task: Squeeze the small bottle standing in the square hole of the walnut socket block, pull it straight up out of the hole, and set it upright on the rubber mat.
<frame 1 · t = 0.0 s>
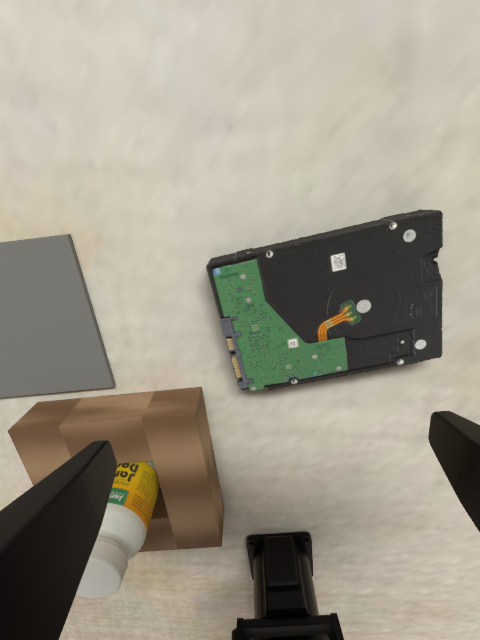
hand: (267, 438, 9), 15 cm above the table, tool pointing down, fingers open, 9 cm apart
socket block: (137, 459, 28), on the table
disk drive: (320, 301, 23), on the table
rubber mat: (18, 324, 23), on the table
supplement bottle: (138, 457, 28), resting in socket block
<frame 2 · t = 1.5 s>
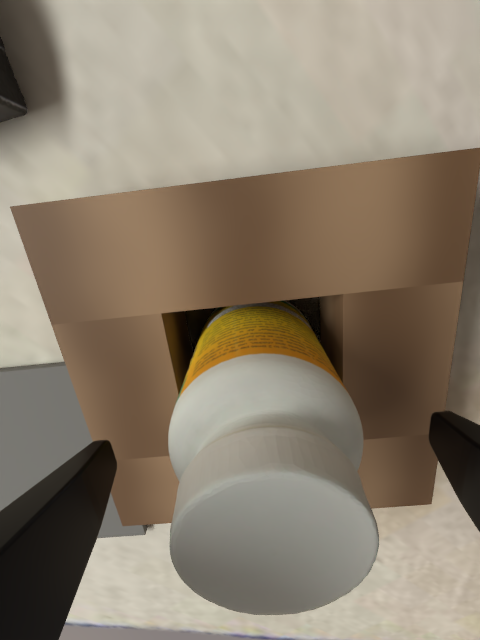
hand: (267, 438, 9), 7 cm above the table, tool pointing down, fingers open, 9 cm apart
socket block: (255, 343, 15), on the table
rubber mat: (21, 462, 17), on the table
supplement bottle: (255, 341, 15), resting in socket block
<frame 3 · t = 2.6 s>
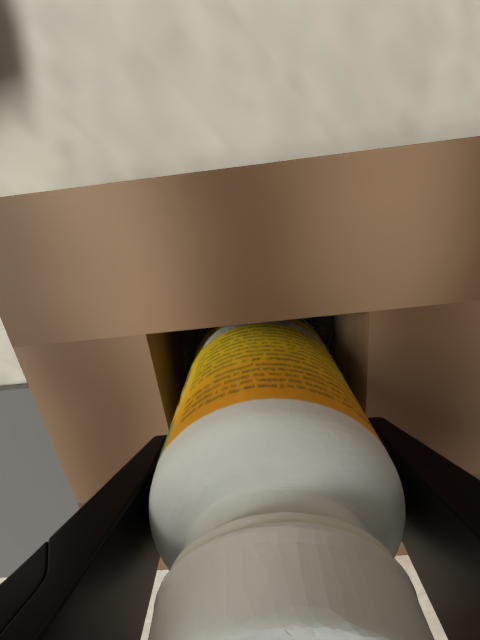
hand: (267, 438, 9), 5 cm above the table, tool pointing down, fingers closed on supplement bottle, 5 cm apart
socket block: (259, 361, 13), on the table
supplement bottle: (259, 359, 13), resting in socket block, touching gripper
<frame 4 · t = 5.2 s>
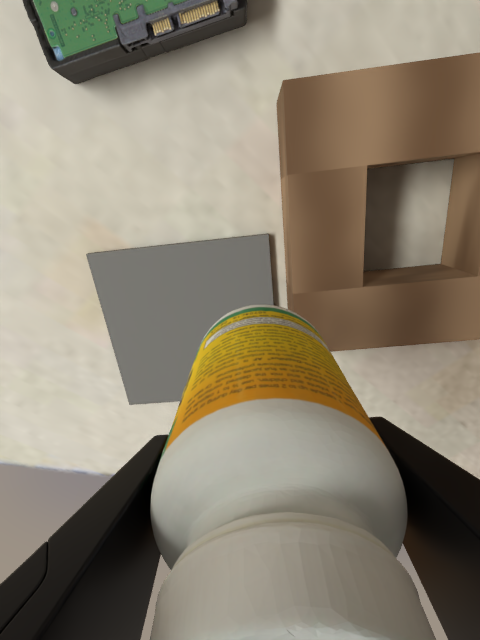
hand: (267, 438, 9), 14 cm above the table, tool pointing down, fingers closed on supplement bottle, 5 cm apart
socket block: (395, 219, 19), on the table
rubber mat: (191, 327, 22), on the table
supplement bottle: (260, 359, 13), point 9 cm above the table, touching gripper
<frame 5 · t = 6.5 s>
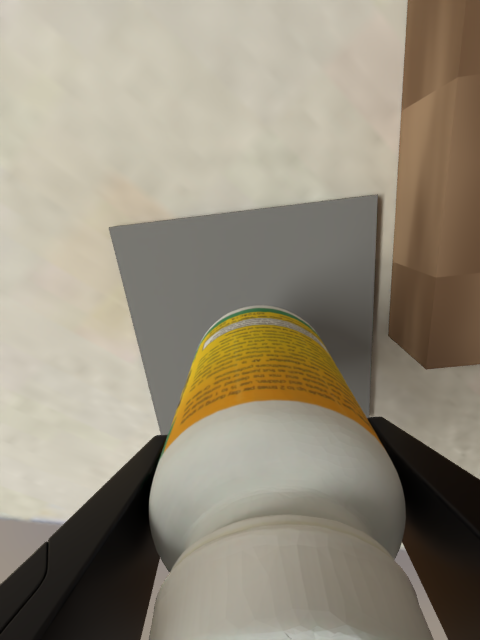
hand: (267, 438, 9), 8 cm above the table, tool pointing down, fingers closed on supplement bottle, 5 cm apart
rubber mat: (253, 332, 16), on the table
supplement bottle: (259, 359, 13), point 3 cm above the table, touching gripper
when the fingers open (6 cm above the table, at t = 7.7 s): supplement bottle stays where it is, resting on rubber mat.
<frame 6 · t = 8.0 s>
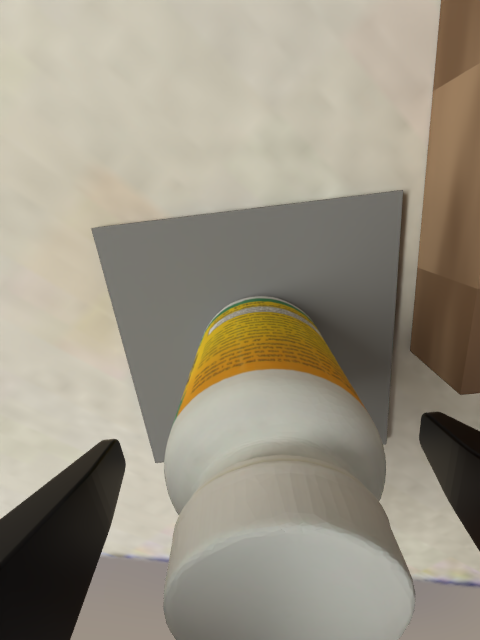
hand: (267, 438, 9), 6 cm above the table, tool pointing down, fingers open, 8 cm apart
rubber mat: (257, 346, 14), on the table
supplement bottle: (259, 347, 14), resting on rubber mat
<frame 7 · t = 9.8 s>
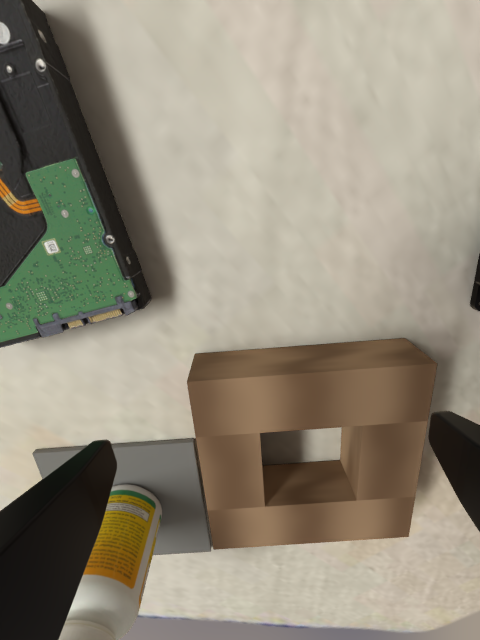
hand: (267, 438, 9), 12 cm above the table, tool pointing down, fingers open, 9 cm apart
socket block: (300, 430, 23), on the table
disk drive: (29, 201, 18), on the table
rubber mat: (130, 501, 25), on the table
supplement bottle: (130, 503, 25), resting on rubber mat
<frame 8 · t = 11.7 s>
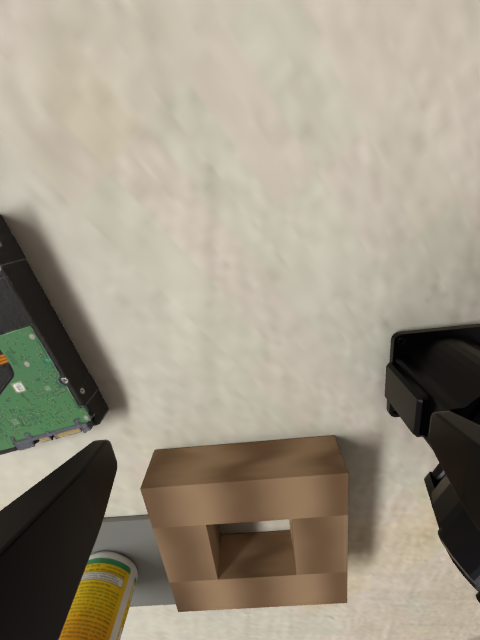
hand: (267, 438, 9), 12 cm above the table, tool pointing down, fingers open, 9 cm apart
socket block: (251, 507, 26), on the table
disk drive: (4, 339, 22), on the table
rubber mat: (111, 563, 29), on the table
supplement bottle: (111, 565, 29), resting on rubber mat
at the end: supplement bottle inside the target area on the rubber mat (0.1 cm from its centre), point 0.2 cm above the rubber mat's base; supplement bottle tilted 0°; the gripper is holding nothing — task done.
